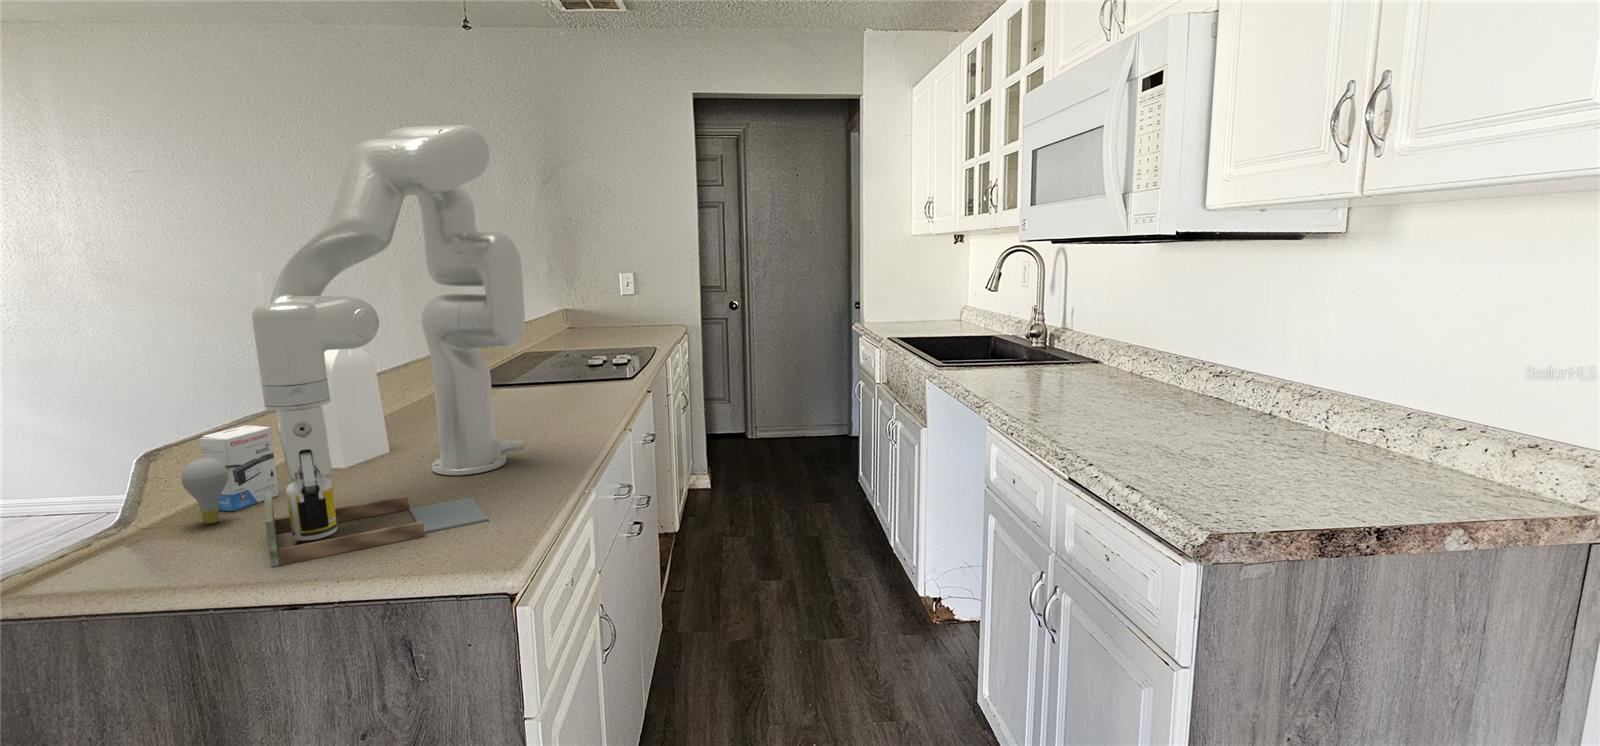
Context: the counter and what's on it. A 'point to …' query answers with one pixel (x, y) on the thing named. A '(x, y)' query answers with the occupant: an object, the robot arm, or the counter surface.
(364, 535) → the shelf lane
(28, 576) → the counter surface
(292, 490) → the supplement bottle
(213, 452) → the ink box
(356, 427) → the milk
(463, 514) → the mat
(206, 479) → the light bulb
